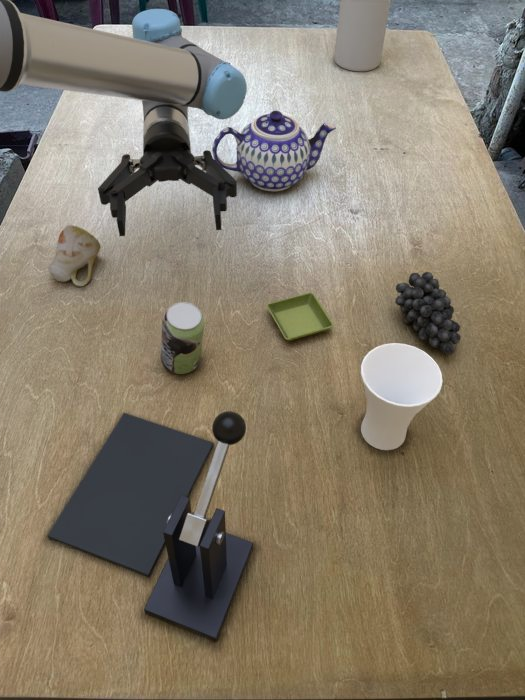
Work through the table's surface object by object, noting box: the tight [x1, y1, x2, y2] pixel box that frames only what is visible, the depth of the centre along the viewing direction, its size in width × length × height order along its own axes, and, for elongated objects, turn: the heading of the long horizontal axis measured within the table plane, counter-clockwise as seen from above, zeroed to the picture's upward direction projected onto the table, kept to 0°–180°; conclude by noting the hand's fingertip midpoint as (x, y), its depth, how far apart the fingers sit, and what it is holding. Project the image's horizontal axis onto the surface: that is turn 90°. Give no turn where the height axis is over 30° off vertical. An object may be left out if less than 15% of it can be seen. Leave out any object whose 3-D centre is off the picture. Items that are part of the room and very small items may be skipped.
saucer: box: [265, 291, 335, 342], centre depth 103 cm, size 9×9×2 cm
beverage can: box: [160, 301, 206, 375], centre depth 93 cm, size 6×7×12 cm
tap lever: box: [179, 410, 247, 547], centre depth 66 cm, size 14×4×4 cm, turn 160°
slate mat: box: [46, 412, 214, 578], centre depth 83 cm, size 14×20×1 cm
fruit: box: [394, 271, 461, 356], centre depth 101 cm, size 9×8×15 cm
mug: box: [48, 224, 102, 287], centre depth 109 cm, size 8×10×10 cm
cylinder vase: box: [333, 0, 392, 72], centre depth 158 cm, size 12×12×25 cm
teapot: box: [211, 110, 337, 192], centre depth 126 cm, size 25×15×15 cm, turn 98°
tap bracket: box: [143, 495, 254, 643], centre depth 70 cm, size 12×9×16 cm
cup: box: [360, 342, 443, 451], centre depth 85 cm, size 10×10×14 cm
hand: (170, 225), depth 87 cm, fingers open, 13 cm apart
